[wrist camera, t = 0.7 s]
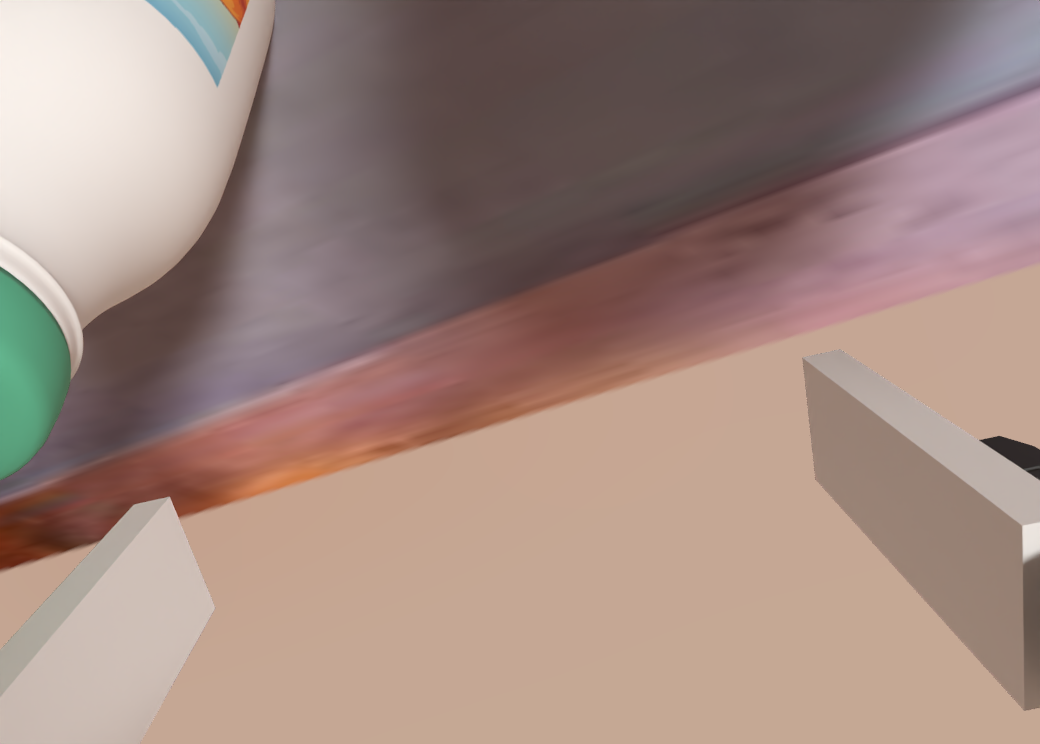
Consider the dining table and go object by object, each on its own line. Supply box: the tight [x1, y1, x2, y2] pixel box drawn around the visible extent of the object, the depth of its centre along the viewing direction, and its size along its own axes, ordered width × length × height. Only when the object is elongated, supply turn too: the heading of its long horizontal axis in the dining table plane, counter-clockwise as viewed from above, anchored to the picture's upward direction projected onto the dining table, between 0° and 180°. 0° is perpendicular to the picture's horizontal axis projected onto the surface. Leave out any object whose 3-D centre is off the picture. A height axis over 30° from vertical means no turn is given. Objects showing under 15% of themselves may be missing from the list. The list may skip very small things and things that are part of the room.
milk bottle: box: [0, 0, 275, 480], centre depth 18 cm, size 8×8×20 cm
